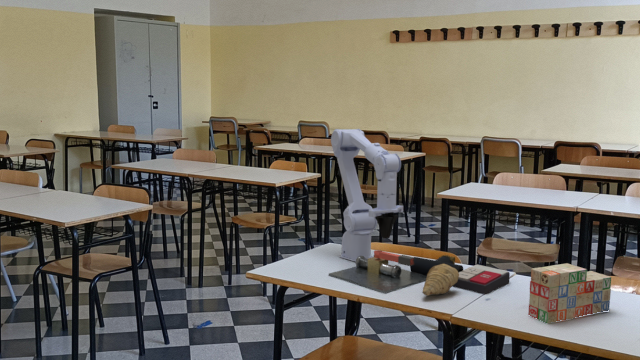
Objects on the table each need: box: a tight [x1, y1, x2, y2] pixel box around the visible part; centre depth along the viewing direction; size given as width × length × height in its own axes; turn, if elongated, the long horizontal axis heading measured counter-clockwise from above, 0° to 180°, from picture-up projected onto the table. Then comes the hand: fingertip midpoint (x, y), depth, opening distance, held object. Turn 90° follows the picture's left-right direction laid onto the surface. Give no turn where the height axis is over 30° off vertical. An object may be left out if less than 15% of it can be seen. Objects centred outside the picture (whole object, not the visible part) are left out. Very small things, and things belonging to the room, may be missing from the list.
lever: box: [373, 249, 415, 267], centre depth 178 cm, size 13×3×2 cm, turn 48°
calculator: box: [452, 264, 511, 295], centre depth 173 cm, size 11×4×15 cm
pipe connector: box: [409, 254, 464, 276], centre depth 183 cm, size 12×5×15 cm
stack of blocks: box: [527, 262, 612, 324], centre depth 149 cm, size 21×6×12 cm, turn 115°
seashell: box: [421, 264, 459, 296], centre depth 162 cm, size 14×8×8 cm, turn 148°
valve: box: [328, 256, 427, 294], centre depth 178 cm, size 22×21×5 cm
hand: (385, 237), depth 184 cm, fingers closed
